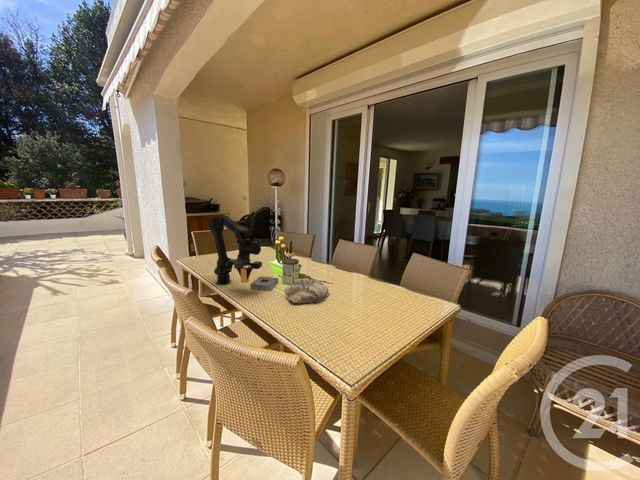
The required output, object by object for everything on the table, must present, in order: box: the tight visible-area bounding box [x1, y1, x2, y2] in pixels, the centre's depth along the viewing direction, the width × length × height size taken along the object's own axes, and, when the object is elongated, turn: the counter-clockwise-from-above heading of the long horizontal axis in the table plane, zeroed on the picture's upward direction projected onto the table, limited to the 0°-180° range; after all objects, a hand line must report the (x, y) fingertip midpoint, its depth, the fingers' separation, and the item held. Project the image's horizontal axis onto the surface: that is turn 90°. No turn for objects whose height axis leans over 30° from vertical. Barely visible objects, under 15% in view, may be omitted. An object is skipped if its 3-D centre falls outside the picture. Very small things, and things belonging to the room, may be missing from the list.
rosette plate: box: [249, 275, 279, 292], centre depth 153 cm, size 12×14×4 cm
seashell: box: [283, 277, 331, 304], centre depth 140 cm, size 28×18×15 cm, turn 133°
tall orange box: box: [240, 266, 250, 284], centre depth 143 cm, size 3×3×8 cm
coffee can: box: [281, 258, 300, 286], centre depth 160 cm, size 10×10×14 cm
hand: (244, 278), depth 144 cm, fingers closed on tall orange box, 3 cm apart
